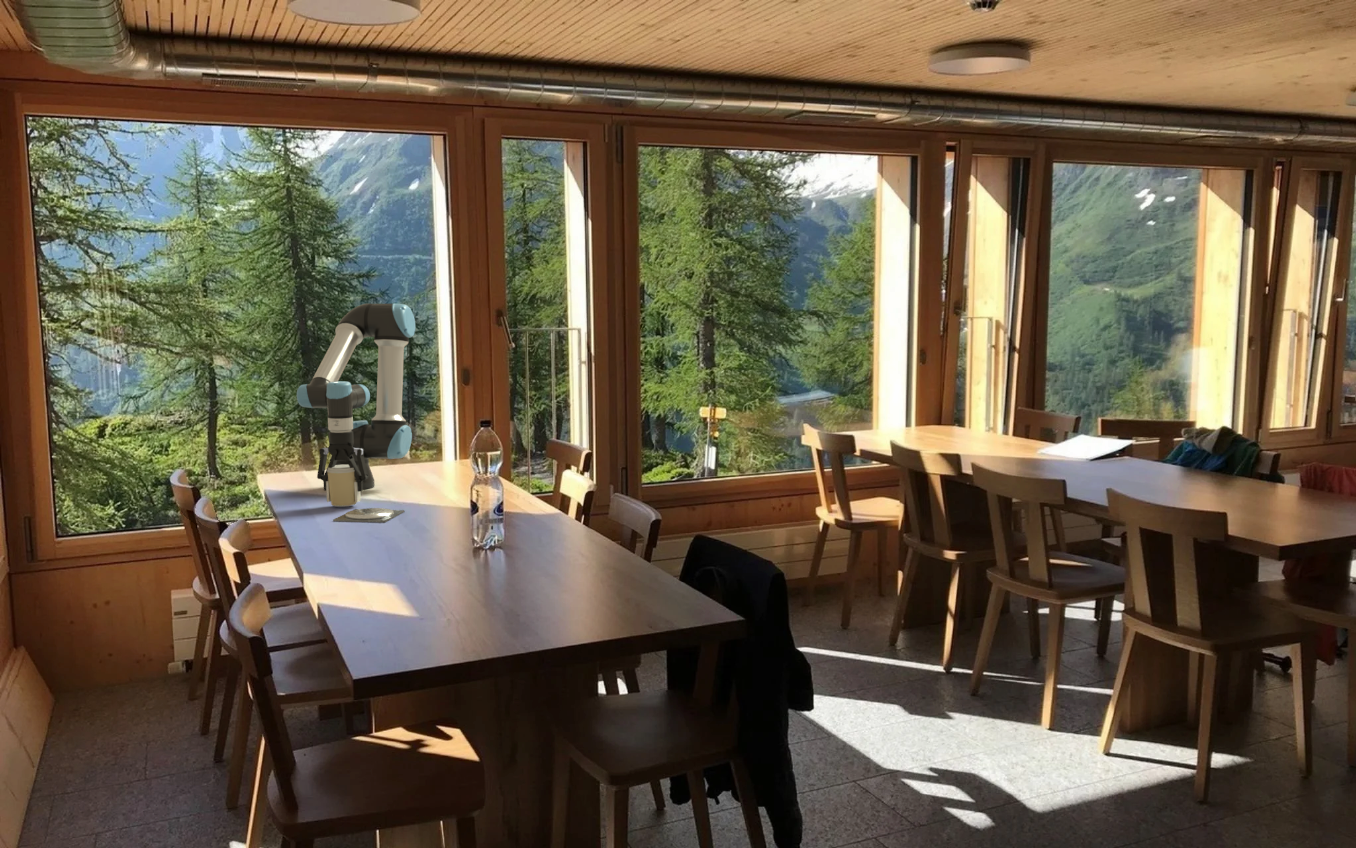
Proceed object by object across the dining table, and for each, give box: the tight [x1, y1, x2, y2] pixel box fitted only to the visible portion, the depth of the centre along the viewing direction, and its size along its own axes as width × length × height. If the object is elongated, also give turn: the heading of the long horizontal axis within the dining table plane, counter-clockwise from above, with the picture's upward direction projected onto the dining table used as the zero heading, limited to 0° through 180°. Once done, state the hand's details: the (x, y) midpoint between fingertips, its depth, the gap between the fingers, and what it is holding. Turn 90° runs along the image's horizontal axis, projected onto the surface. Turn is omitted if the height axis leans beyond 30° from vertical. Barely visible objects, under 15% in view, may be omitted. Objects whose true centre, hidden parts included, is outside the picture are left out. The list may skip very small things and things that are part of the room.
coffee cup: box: [326, 464, 358, 507], centre depth 333 cm, size 9×9×12 cm
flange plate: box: [332, 507, 406, 524], centre depth 319 cm, size 16×16×1 cm
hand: (343, 501), depth 333 cm, fingers closed on coffee cup, 9 cm apart
